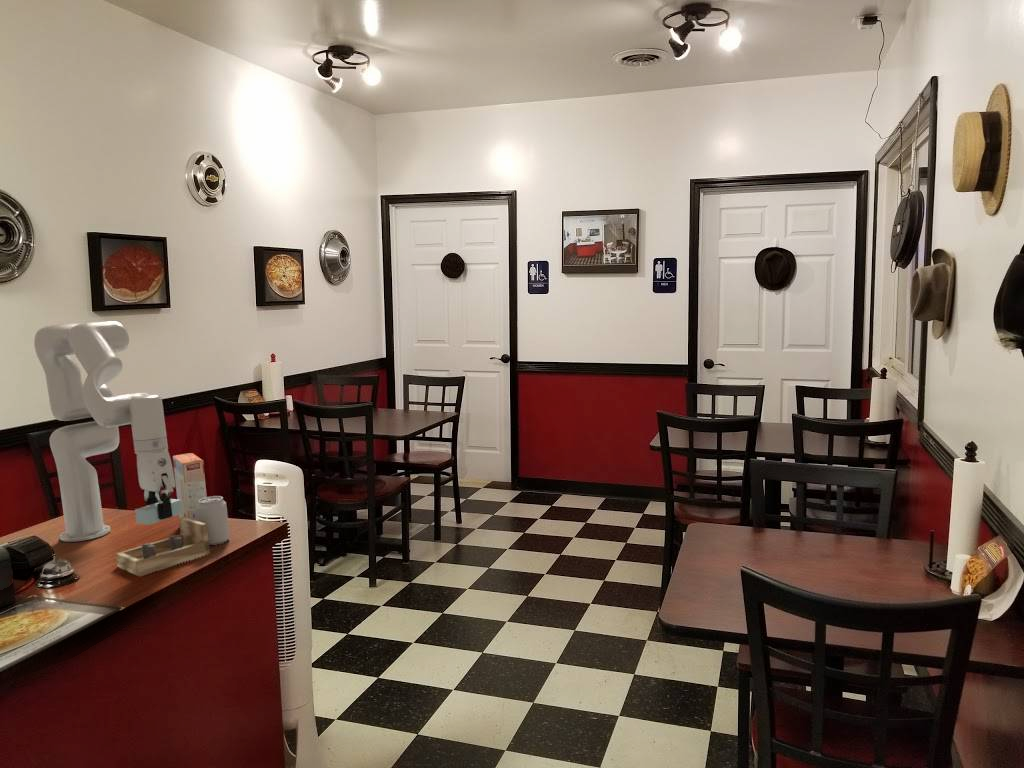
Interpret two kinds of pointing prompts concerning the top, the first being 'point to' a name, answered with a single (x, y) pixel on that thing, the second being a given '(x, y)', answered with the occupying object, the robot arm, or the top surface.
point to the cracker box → (189, 483)
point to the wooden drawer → (167, 550)
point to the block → (156, 512)
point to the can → (214, 518)
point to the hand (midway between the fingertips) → (159, 515)
